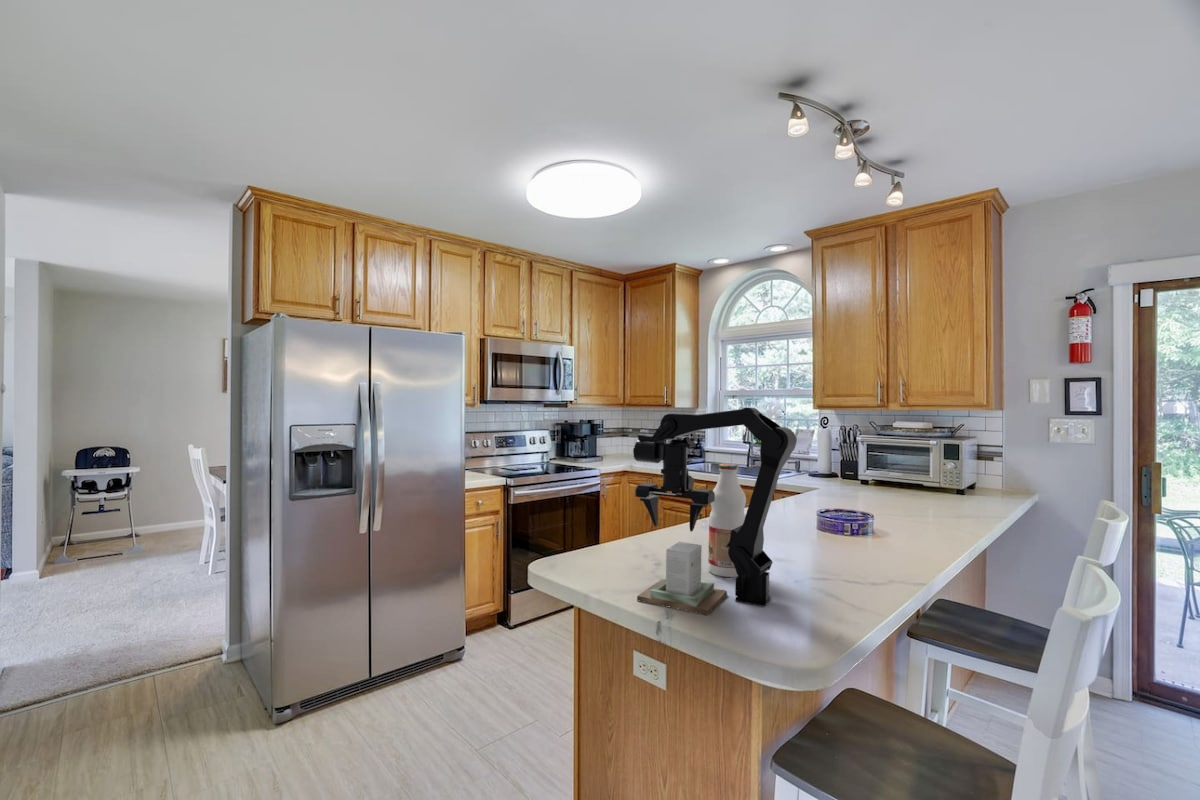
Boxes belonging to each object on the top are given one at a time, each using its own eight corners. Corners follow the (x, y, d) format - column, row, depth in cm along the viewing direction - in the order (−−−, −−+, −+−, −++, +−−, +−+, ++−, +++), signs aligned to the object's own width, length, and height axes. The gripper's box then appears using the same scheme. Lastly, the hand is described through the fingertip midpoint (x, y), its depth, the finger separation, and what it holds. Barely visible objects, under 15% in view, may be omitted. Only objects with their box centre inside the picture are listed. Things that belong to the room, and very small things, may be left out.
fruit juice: (730, 580, 138) (732, 467, 138) (700, 571, 145) (702, 463, 145) (752, 573, 144) (754, 465, 144) (723, 564, 151) (725, 461, 151)
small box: (678, 586, 130) (679, 541, 130) (701, 590, 127) (702, 544, 127) (664, 596, 123) (665, 548, 123) (688, 601, 120) (689, 552, 120)
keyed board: (726, 595, 127) (726, 584, 127) (707, 615, 115) (707, 603, 115) (661, 582, 135) (662, 572, 135) (637, 600, 123) (637, 589, 123)
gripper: (721, 464, 138) (720, 527, 138) (652, 459, 147) (651, 518, 147) (708, 468, 128) (706, 536, 128) (634, 463, 137) (633, 526, 137)
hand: (673, 528), depth 136 cm, fingers open, 9 cm apart
